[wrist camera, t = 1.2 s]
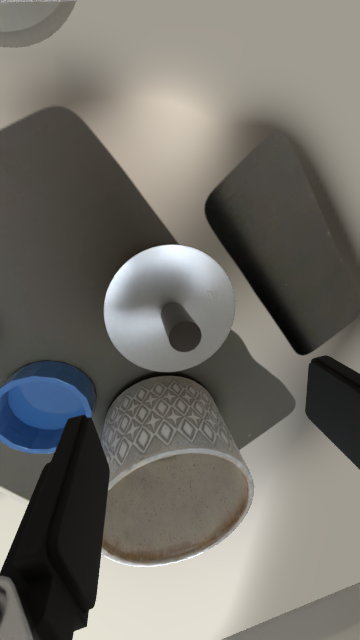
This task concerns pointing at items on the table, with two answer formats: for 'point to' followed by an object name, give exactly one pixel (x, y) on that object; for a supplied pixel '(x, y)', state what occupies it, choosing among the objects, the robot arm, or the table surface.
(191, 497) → the planter
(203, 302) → the lid
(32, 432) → the pan
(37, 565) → the robot arm
